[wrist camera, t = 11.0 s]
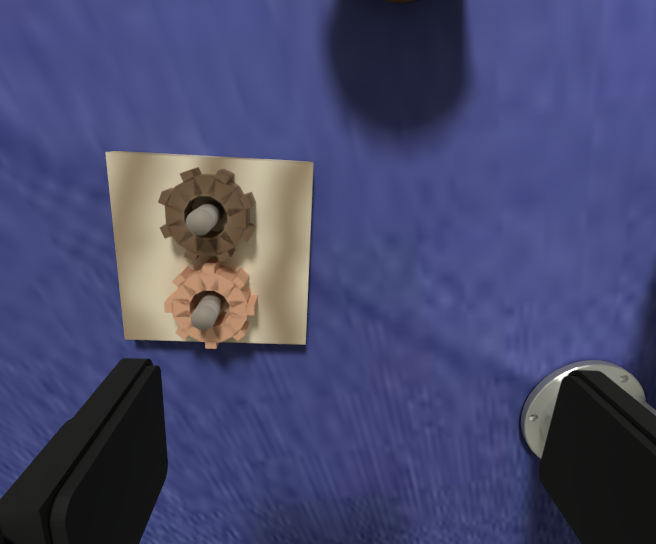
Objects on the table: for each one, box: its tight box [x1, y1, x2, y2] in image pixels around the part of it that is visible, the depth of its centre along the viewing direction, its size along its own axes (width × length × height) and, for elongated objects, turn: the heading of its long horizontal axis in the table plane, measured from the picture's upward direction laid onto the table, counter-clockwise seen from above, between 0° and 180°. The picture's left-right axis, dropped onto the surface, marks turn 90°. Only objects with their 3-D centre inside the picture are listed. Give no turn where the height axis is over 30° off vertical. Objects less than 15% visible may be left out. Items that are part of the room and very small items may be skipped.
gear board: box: [106, 151, 313, 345], centre depth 34 cm, size 16×16×6 cm
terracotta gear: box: [164, 258, 258, 349], centre depth 35 cm, size 7×7×2 cm
